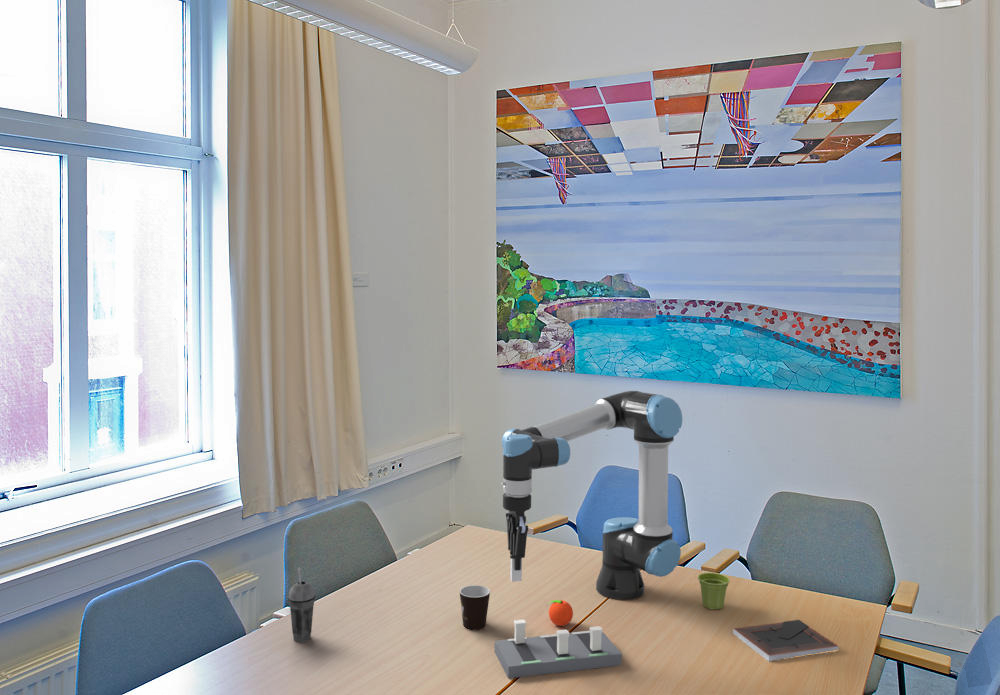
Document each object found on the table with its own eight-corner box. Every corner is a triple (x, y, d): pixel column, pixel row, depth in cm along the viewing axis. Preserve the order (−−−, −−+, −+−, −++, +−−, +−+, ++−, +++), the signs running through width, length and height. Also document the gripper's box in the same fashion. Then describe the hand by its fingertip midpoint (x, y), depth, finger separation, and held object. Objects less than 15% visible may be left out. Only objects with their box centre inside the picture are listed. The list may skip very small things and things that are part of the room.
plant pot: (694, 609, 233) (695, 581, 233) (699, 597, 242) (700, 570, 241) (726, 614, 230) (728, 586, 229) (730, 602, 239) (731, 575, 238)
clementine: (541, 627, 220) (542, 602, 219) (548, 617, 226) (549, 593, 226) (569, 631, 217) (569, 607, 216) (575, 621, 223) (576, 597, 223)
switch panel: (600, 640, 212) (601, 629, 212) (621, 665, 198) (621, 653, 198) (494, 651, 204) (494, 640, 204) (508, 678, 191) (508, 665, 191)
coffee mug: (485, 633, 215) (486, 598, 214) (455, 630, 217) (456, 595, 216) (494, 616, 226) (495, 582, 225) (465, 613, 228) (466, 580, 227)
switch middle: (566, 650, 199) (566, 629, 198) (568, 653, 197) (569, 632, 196) (555, 651, 198) (556, 630, 197) (558, 655, 196) (558, 634, 196)
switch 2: (599, 646, 201) (599, 626, 200) (602, 650, 199) (602, 629, 198) (589, 647, 200) (589, 627, 200) (591, 651, 198) (592, 630, 198)
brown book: (798, 627, 224) (732, 636, 218) (798, 619, 223) (733, 627, 217) (838, 654, 208) (768, 664, 202) (838, 645, 208) (769, 654, 202)
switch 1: (523, 639, 204) (524, 619, 204) (525, 643, 202) (526, 622, 202) (513, 640, 203) (513, 620, 203) (515, 644, 201) (515, 623, 201)
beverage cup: (321, 634, 213) (320, 563, 211) (306, 646, 206) (305, 573, 204) (298, 630, 215) (297, 560, 213) (282, 641, 208) (282, 569, 206)
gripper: (497, 487, 210) (496, 572, 212) (510, 501, 197) (509, 591, 199) (523, 486, 212) (522, 570, 214) (538, 499, 199) (536, 588, 201)
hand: (515, 580), depth 207 cm, fingers closed
